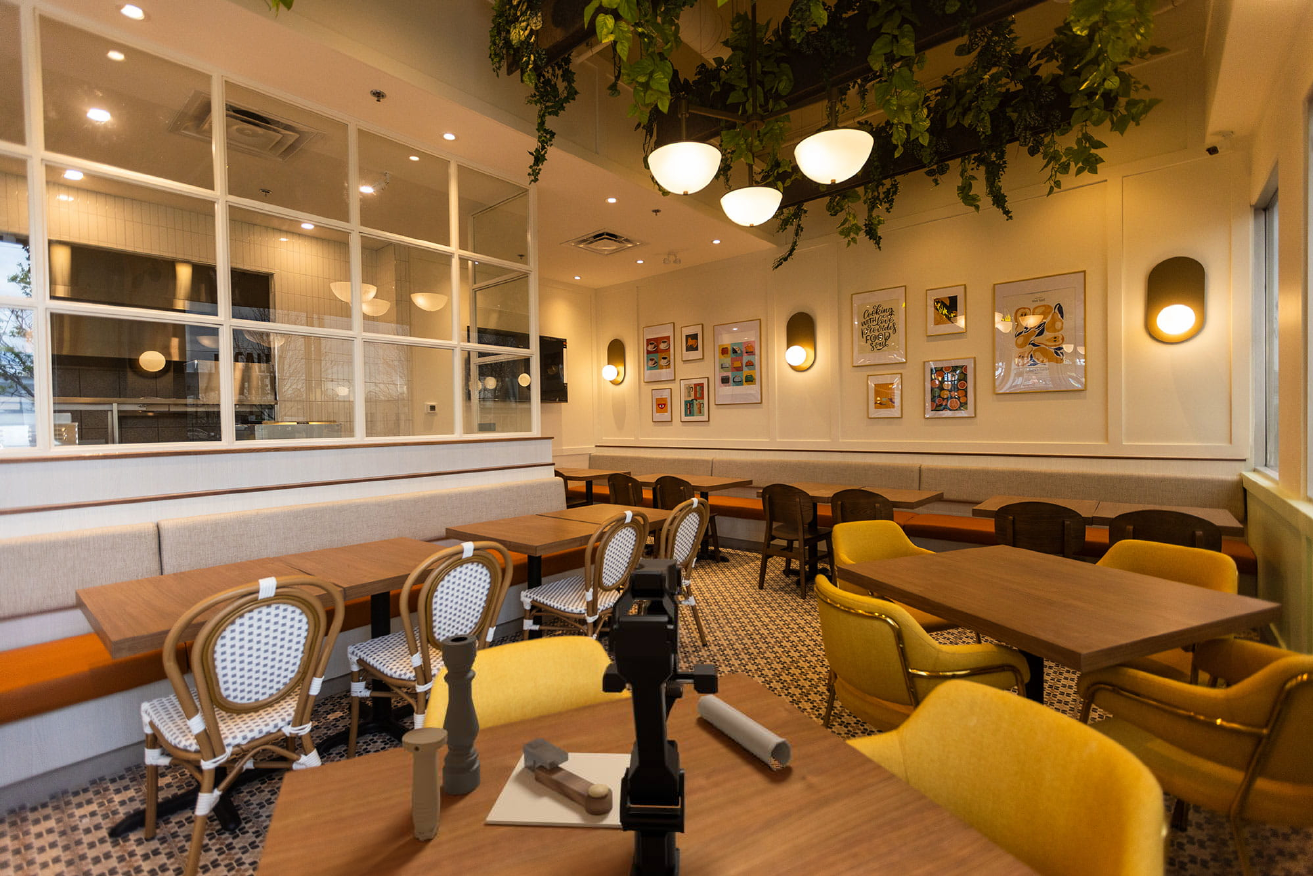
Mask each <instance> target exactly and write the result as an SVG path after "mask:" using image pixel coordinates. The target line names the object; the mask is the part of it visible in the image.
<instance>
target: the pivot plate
mask: <svg viewBox="0 0 1313 876" xmlns="http://www.w3.org/2000/svg"><path fill="white" fill-rule="evenodd" d="M522 753H523V752H522ZM567 753H568V761H566V762H564V763H562V764H560V765H558V766H560V767H562V768H564V769H566V770H567V771H569V772H571V773H573V774H575V775H577V776H579V777H581V778H583V779H585V780H587V781H589V782H591V783H593V784H595V785H592V786H591V787H590V788H589V790H588V793H589V795H590V796H592V797H595V798H599V797H603V796H605V795H607V794H608V792H609V788H610V789H611V790H612V796H613V807H612V809H611V810H610V811H609V812H608V813H606V814H603V815H591V814H589V813H587V812H586V810H585V807H583V806H581V805H580V804H578V803H576V802H574V801H572V800H571V799H569V798H567V797H565V796H563V795H561V794H560V793H558V792H556V791H554V790H552V789H551V788H549V787H547V786H545V785H543V784H541V783H540V782H538V781H536V780H535V772H534V773H533V772H532V771H530V770H529V769H527V768H526V767H524V753H523V754H522V755H521V757H520V759H519V761H518V763H517V764H516V766H515V768H514V770H513V771H512V773H511V775H510V777H509V778H508V780H507V781H506V784H505V786H504V787H503V789H502V790H501V792H500V794H499V796H498V798H497V799H496V802H495V803H494V805H493V806H492V809H491V810H490V811H489V813H488V816H487V817H486V819H485V824H488V825H489V824H490V825H491V824H492V825H519V826H521V825H524V826H526V825H527V826H549V827H550V826H551V827H552V826H554V827H584V828H585V827H586V828H591V827H592V828H614V829H615V828H616V829H617V828H620V829H621V828H622V826H621V823H620V813H619V812H620V791H621V779H622V778H623V777H624V774H625V772H626V768H627V767H630V759H631V753H606V752H605V753H604V752H603V753H601V752H599V753H598V752H597V753H595V752H592V753H591V752H567Z"/></svg>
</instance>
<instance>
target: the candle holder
mask: <svg viewBox="0 0 1313 876" xmlns="http://www.w3.org/2000/svg"><path fill="white" fill-rule="evenodd" d="M477 645H478V644H477V637H476V635H473V634H472V633H471V634H470V633H469V634H468V633H464V634H463V633H462V634H454V635H450V636H447V637H445V638H443V639H442V640H441V660H442V661H441V662H443V666H444V667H445V668H446V671H447V672H446V673H445V675H444V676H443V680H444V682H445V683H446V685H448V686H447V689H448V691H447V692H448V693H447V694H448V695H447V696H448V702H447V707H446V711H445V716H444V719H443V723H442V729H444V730H446V731H447V742H446V743H445V745H447V747H446V748H447V750H448V751H447V753H446V754H445V756H444V758H443V763H444V765H443V767H442V771H441V772H442V773H441V775H442V790H443V792H444V793H445V794H447V795H451V796H459V795H460V796H461V795H465V794H468V793H470V792H473V791H474V790H476V789H477V788H478V787H479V785H480V783H481V761H480V759H479V751H478V750H477V749H476V748H475V743H476V742H475V741H476V740H477V737H478V735H479V731H480V723H479V720H478V715H477V713H476V712H477V711H476V709H475V705H474V700H473V688H472V687H473V685H472V684H473V680H474V679H475V678H476V674H477V673H476V671H475V670H474V669H473V665H474V663H475V661H476V658H477V656H478V654H477V652H478V651H477V648H478V647H477Z"/></svg>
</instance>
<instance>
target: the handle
mask: <svg viewBox="0 0 1313 876" xmlns="http://www.w3.org/2000/svg"><path fill="white" fill-rule="evenodd" d="M401 741H402V742H401V745H402V749H404V750H406V752H409V753H411V754H412V757H413V758H412V759H413V760H412V761H413V763H412V785H411V786H412V789H411V811H412V813H411V814H412V821H413V822H412V823H413V827H414V828H413V832H414V836H415V838H416V839H417V838H418V840H419V841H420V842H424V841H426V840H430V839H434V837H435V836H436V835H437V833H438V832H439V826H440V823H439V819H440V814H441V813H440V811H441V808H440V807H441V790H440V789H441V788H440V779H439V777H440V776H439V764H438V763H439V762H438V750H440V749H441V748H442V747H444V746H445V745H446V742H447V731H446V730H444V729H443V728H441V727H433V726H432V727H430V726H429V727H427V726H425V727H420V728H414V729H411V730H409V731H408V732H405V734H403V736H402V738H401Z"/></svg>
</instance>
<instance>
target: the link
mask: <svg viewBox="0 0 1313 876" xmlns="http://www.w3.org/2000/svg"><path fill="white" fill-rule="evenodd" d="M535 780H536V781H538V782H540V783H541V784H543V785H545V786H547V787H549V788H551V789H552V790H554V791H556V792H558V793H560V794H561V795H563V796H565V797H567V798H569V799H571V800H572V801H574V802H576V803H578V804H580V805H581V806H583V807H585V810H586V812H587V813H589V814H591V815H603V814H606V813H608V812H609V811H610V810H611V809H612V807H613V796H612V790H611V789H610V788H609V792H608V794H607V795H605V796H603V797H599V798H595V797H592V796H590V795H589V793H588V790H589V788H590V787H591V786H592V785H595V784H593V783H591V782H589V781H587V780H585V779H583V778H581V777H579V776H577V775H575V774H573V773H571V772H569V771H567V770H566V769H564V768H562V767H560V766H556V767H554V768H552V769H550V770H549V769H547V768H546V767H544V766H543V765H540V766H538V767H536V768H535Z"/></svg>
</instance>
